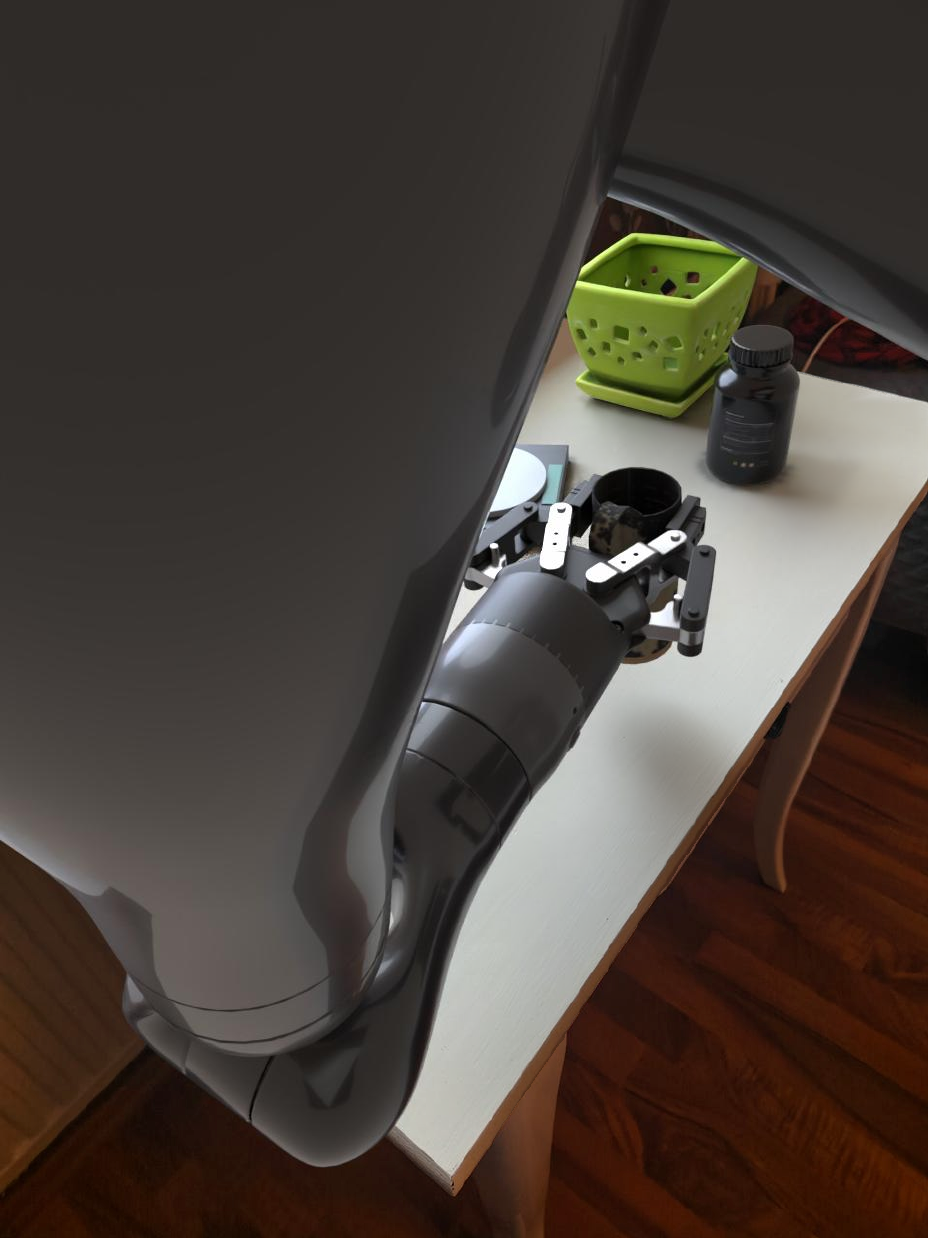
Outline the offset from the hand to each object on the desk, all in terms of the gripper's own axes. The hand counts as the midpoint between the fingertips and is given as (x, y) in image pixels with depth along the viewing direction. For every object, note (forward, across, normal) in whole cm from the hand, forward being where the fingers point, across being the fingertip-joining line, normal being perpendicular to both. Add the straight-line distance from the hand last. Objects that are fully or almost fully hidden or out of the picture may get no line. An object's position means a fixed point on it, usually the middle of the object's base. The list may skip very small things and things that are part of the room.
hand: (645, 498), depth 50 cm
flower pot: (+37, +13, +14) cm, 42 cm away
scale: (+14, +19, +14) cm, 27 cm away
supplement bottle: (+27, +1, +14) cm, 30 cm away
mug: (-3, 0, +10) cm, 10 cm away
